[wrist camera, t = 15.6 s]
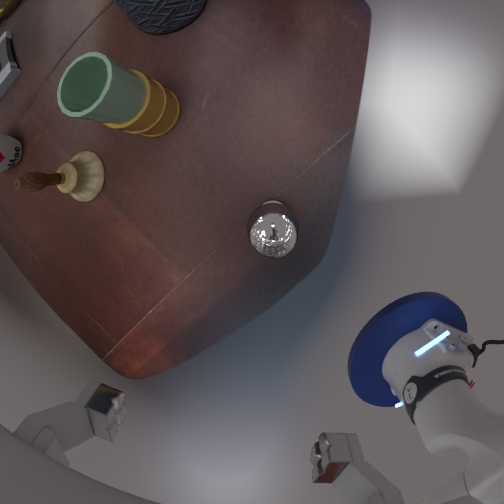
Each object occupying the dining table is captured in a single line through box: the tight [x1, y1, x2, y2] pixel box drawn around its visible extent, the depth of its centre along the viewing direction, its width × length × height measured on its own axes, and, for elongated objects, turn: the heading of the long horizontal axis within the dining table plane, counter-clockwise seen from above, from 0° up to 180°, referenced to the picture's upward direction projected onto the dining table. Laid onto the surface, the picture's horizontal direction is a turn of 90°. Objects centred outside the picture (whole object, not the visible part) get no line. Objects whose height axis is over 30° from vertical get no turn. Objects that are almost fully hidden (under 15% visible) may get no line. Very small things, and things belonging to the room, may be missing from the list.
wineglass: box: [247, 200, 299, 258], centre depth 35 cm, size 6×6×12 cm
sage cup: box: [57, 52, 147, 125], centre depth 23 cm, size 6×6×8 cm
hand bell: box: [14, 151, 105, 202], centre depth 33 cm, size 8×8×16 cm
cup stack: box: [103, 69, 181, 137], centre depth 32 cm, size 8×8×11 cm
